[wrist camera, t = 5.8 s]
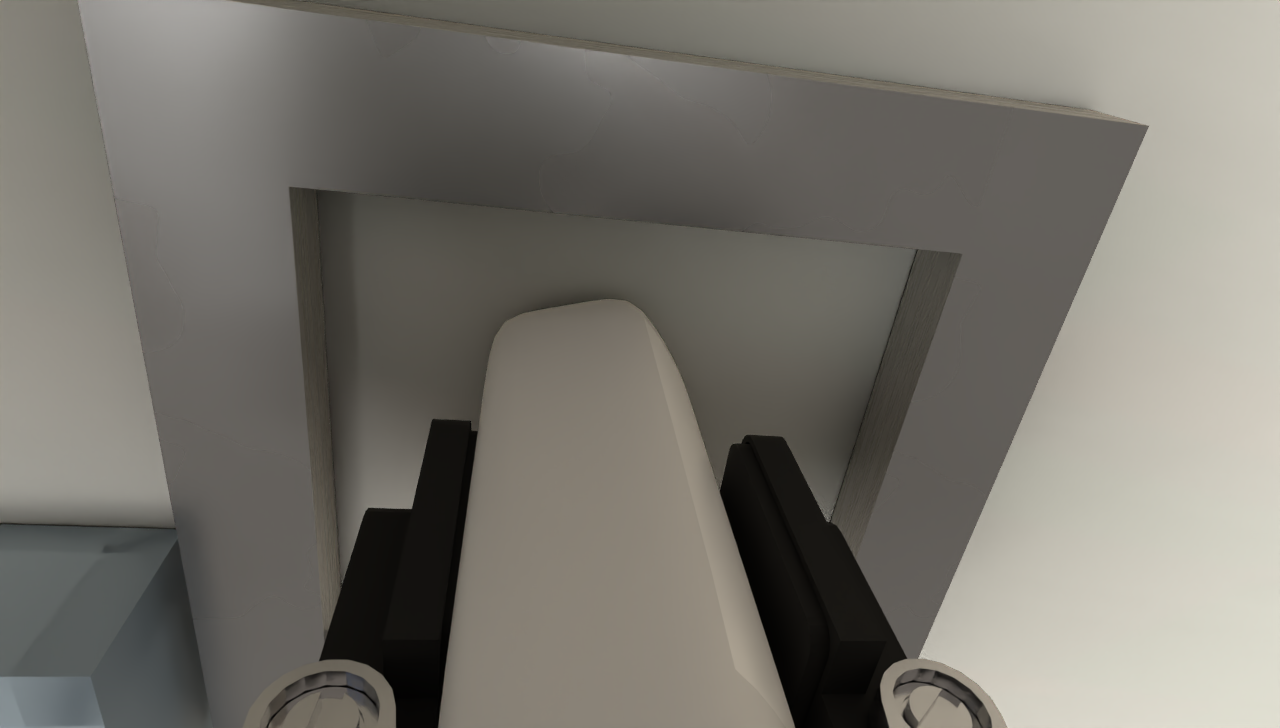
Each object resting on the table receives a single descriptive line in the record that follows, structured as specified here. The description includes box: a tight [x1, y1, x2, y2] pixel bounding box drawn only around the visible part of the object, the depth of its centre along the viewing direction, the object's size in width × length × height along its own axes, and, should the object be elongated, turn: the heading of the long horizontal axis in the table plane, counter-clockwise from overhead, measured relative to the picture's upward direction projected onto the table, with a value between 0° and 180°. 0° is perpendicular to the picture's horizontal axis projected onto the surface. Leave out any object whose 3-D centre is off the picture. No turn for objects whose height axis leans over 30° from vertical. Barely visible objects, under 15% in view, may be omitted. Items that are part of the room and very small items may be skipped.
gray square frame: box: [77, 0, 1149, 728], centre depth 13 cm, size 13×13×1 cm
